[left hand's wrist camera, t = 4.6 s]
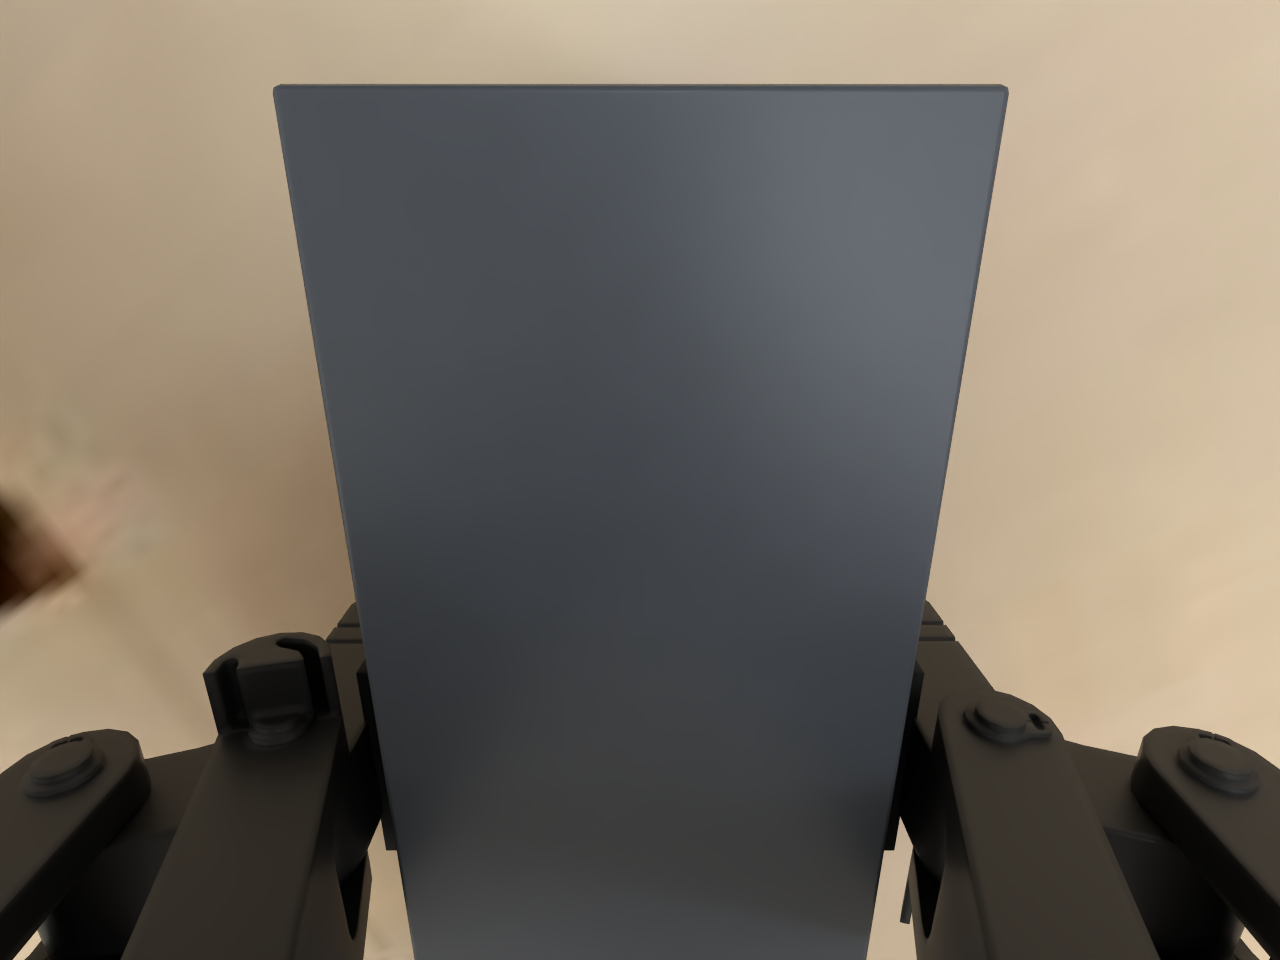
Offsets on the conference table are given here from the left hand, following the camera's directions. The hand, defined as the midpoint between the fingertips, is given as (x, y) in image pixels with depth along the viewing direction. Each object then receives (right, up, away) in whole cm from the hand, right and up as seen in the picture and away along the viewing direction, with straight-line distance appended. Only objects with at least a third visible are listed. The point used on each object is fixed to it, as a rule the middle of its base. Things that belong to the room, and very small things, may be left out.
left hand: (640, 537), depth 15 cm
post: (0, -24, +10) cm, 26 cm away
